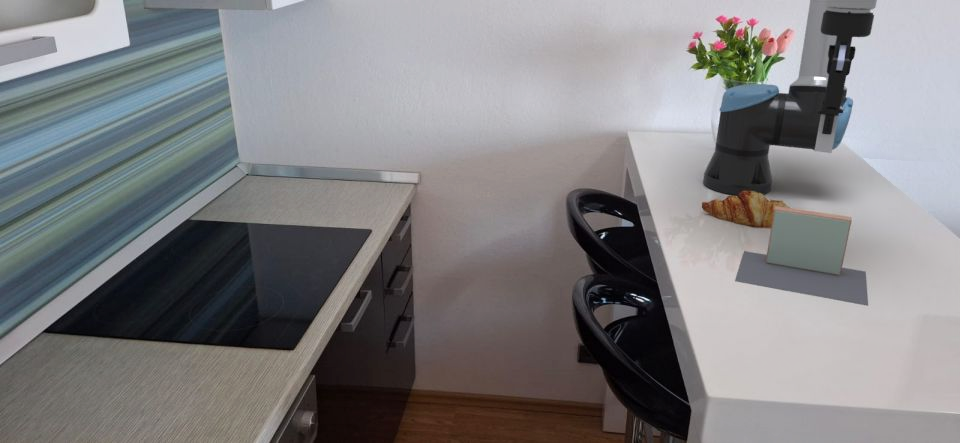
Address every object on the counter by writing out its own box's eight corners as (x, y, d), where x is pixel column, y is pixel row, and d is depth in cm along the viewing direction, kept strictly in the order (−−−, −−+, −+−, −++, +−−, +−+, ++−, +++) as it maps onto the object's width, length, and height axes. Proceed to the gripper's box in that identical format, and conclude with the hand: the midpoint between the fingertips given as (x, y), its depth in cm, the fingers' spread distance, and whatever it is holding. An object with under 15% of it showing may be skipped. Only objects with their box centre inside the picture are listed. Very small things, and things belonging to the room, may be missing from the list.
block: (766, 258, 133) (775, 206, 129) (840, 271, 128) (851, 217, 125) (765, 263, 131) (774, 209, 127) (840, 276, 126) (851, 220, 123)
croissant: (805, 241, 152) (811, 203, 153) (812, 235, 143) (819, 194, 143) (698, 225, 159) (704, 188, 159) (698, 218, 149) (705, 179, 150)
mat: (743, 255, 136) (744, 251, 136) (864, 275, 129) (865, 271, 128) (734, 285, 124) (734, 280, 124) (867, 310, 117) (868, 305, 116)
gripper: (876, 14, 114) (847, 163, 123) (873, 8, 125) (846, 145, 134) (823, 12, 117) (798, 157, 125) (824, 6, 128) (801, 140, 137)
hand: (823, 150), depth 130 cm, fingers closed
